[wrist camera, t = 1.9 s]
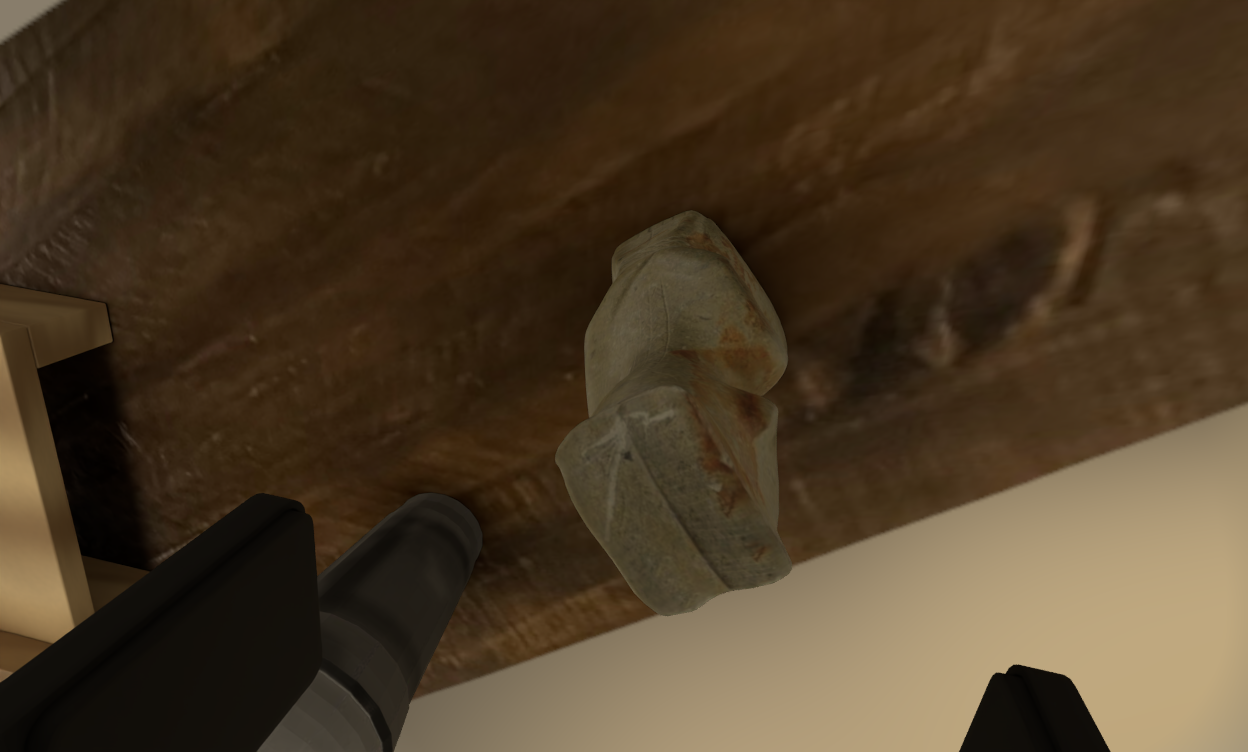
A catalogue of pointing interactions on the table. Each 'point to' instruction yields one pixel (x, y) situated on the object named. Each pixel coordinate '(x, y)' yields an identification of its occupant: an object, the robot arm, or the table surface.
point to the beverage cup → (382, 627)
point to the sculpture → (681, 420)
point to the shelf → (42, 482)
